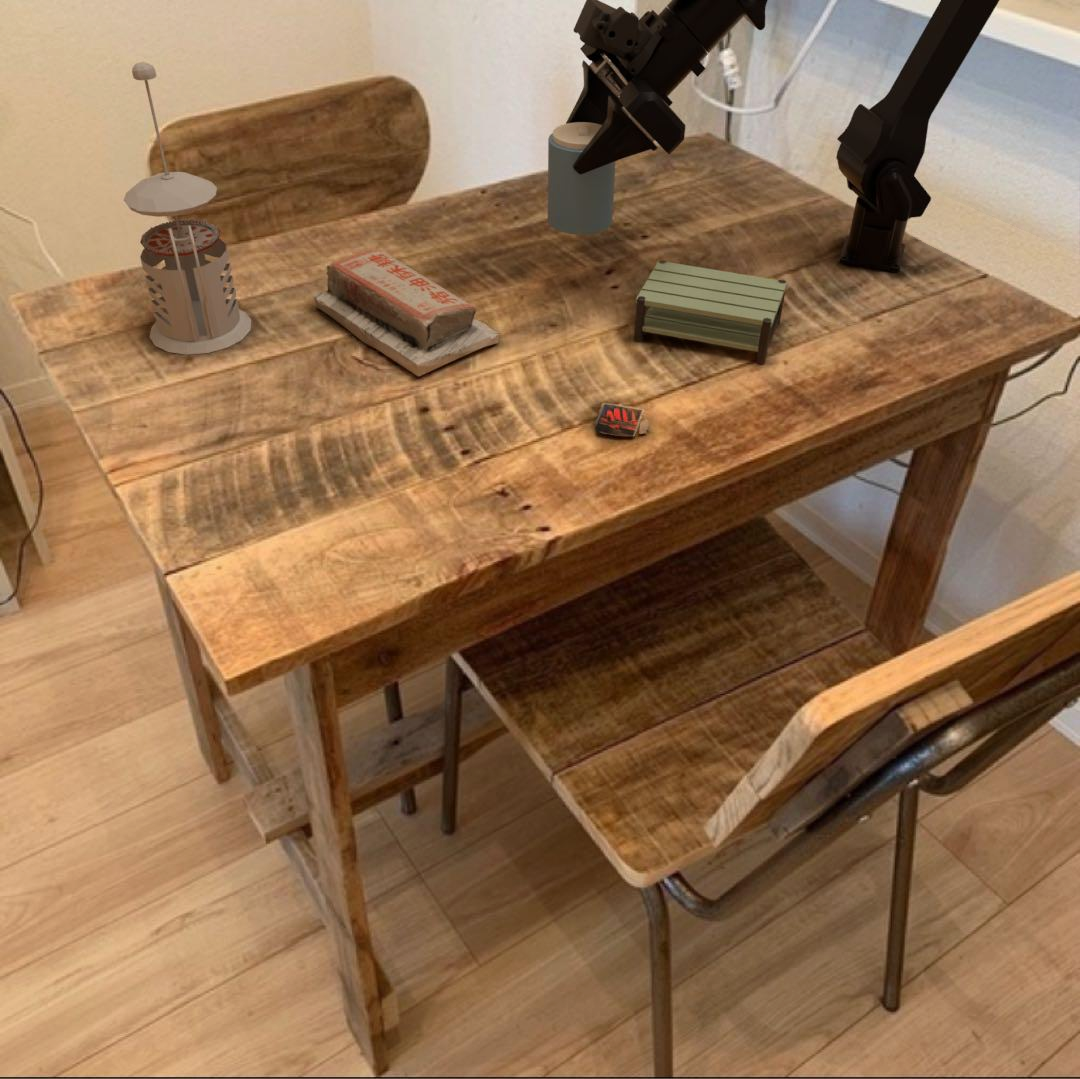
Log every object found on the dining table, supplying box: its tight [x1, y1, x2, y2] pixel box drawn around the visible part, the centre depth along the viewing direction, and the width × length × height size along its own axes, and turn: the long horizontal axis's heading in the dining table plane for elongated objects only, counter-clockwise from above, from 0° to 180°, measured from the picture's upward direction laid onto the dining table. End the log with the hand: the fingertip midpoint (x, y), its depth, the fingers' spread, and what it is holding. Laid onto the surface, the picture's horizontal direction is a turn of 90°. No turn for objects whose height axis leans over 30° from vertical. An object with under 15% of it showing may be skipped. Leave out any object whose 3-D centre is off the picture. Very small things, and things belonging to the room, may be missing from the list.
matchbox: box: [594, 402, 651, 439], centre depth 93 cm, size 5×5×1 cm
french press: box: [123, 61, 252, 356], centre depth 97 cm, size 10×12×25 cm
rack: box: [633, 259, 788, 365], centre depth 104 cm, size 9×13×4 cm
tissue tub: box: [547, 122, 617, 235], centre depth 106 cm, size 7×7×9 cm
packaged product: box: [314, 249, 500, 378], centre depth 104 cm, size 18×5×10 cm
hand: (568, 157), depth 104 cm, fingers closed on tissue tub, 6 cm apart
